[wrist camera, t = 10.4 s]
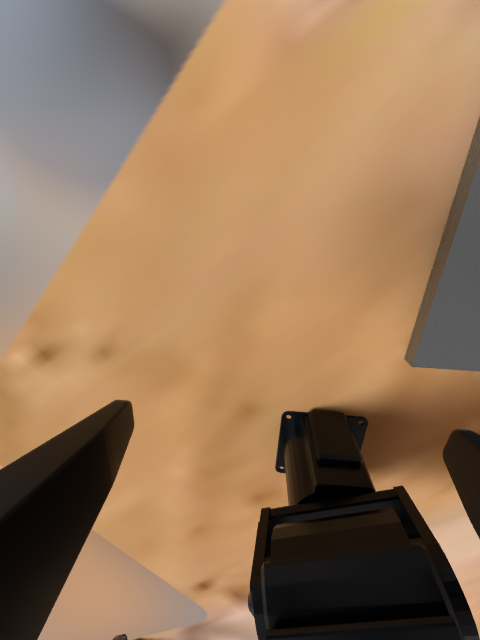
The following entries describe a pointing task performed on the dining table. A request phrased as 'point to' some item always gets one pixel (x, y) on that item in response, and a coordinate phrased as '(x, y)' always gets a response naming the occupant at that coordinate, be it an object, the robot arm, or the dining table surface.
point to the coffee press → (120, 637)
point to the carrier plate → (454, 284)
